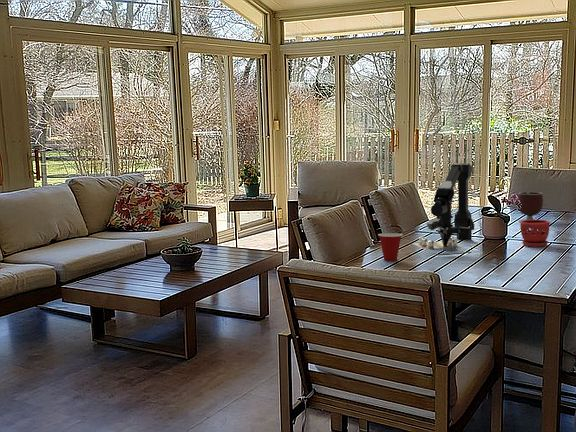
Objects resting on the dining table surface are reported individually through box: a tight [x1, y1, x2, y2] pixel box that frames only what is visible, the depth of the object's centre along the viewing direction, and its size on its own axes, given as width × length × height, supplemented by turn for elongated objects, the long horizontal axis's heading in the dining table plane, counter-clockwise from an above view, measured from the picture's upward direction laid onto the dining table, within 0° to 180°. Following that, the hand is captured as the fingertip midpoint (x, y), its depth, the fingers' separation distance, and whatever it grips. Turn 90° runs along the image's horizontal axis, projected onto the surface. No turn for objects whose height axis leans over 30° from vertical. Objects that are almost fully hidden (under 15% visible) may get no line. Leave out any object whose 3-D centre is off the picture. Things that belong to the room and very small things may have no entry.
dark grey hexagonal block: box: [442, 244, 458, 252], centre depth 302 cm, size 7×6×2 cm
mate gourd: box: [517, 189, 544, 223], centre depth 375 cm, size 16×14×20 cm
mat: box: [434, 251, 472, 257], centre depth 301 cm, size 18×10×1 cm, turn 101°
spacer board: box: [412, 240, 463, 250], centre depth 313 cm, size 20×15×1 cm
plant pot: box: [519, 219, 550, 248], centre depth 310 cm, size 13×13×12 cm
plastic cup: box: [377, 232, 403, 262], centre depth 289 cm, size 11×11×12 cm
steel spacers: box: [418, 236, 458, 250], centre depth 312 cm, size 17×14×4 cm
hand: (444, 245), depth 305 cm, fingers closed
